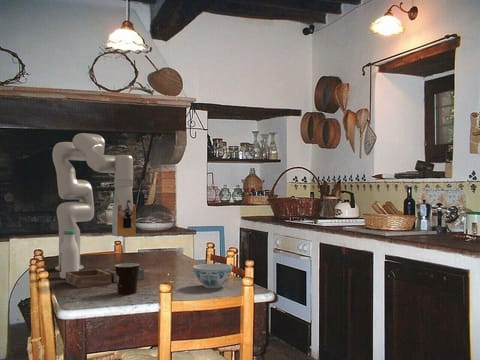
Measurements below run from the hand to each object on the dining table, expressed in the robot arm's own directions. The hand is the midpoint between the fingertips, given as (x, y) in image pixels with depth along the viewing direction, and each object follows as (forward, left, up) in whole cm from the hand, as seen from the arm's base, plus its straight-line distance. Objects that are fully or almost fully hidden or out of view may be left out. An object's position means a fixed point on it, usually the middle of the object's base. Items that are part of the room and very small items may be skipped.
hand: (123, 227), depth 208 cm
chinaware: (+36, +21, -22) cm, 47 cm away
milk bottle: (-18, -17, -22) cm, 33 cm away
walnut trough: (0, -15, -22) cm, 26 cm away
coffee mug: (+29, -11, -22) cm, 38 cm away
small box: (0, 0, -4) cm, 4 cm away
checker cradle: (0, 0, -22) cm, 22 cm away
